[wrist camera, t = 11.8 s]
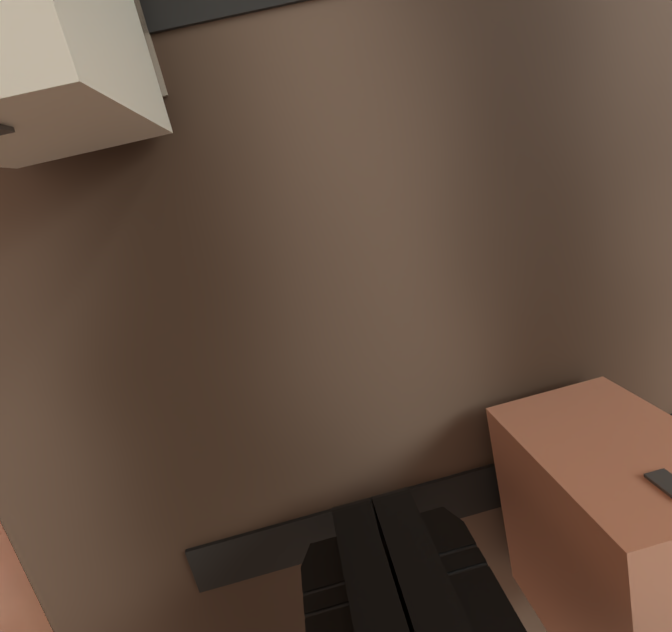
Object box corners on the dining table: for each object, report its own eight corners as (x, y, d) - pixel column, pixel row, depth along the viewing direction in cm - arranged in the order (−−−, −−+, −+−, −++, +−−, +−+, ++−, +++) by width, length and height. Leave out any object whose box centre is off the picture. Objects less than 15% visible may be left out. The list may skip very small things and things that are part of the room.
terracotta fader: (602, 374, 10) (815, 493, 6) (618, 546, 11) (806, 741, 7) (485, 406, 10) (626, 550, 6) (512, 578, 11) (647, 793, 7)
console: (960, -401, 10) (1239, -639, 7) (892, 449, 16) (1037, 510, 13) (-205, -194, 9) (-441, -383, 6) (156, 664, 14) (126, 790, 11)
